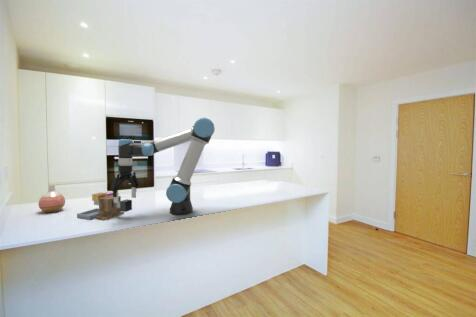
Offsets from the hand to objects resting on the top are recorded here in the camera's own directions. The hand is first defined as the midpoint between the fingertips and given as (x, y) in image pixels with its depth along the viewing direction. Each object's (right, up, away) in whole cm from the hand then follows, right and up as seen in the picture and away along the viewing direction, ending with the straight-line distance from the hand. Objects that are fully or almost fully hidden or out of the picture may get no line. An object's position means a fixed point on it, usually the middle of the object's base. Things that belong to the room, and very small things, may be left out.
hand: (125, 200), depth 137 cm
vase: (-54, -10, +13) cm, 57 cm away
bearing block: (-12, -11, +5) cm, 17 cm away
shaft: (-10, -6, +4) cm, 12 cm away
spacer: (-20, -1, +7) cm, 21 cm away
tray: (-22, -11, +5) cm, 25 cm away
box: (-21, -10, +19) cm, 30 cm away
